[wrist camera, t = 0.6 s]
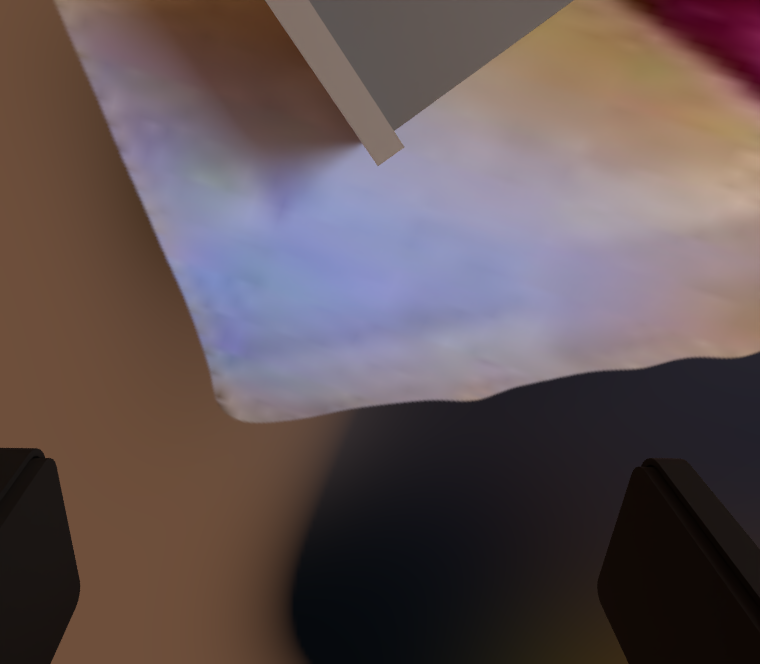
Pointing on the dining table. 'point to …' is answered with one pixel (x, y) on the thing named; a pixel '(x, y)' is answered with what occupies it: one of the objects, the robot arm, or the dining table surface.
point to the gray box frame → (401, 52)
